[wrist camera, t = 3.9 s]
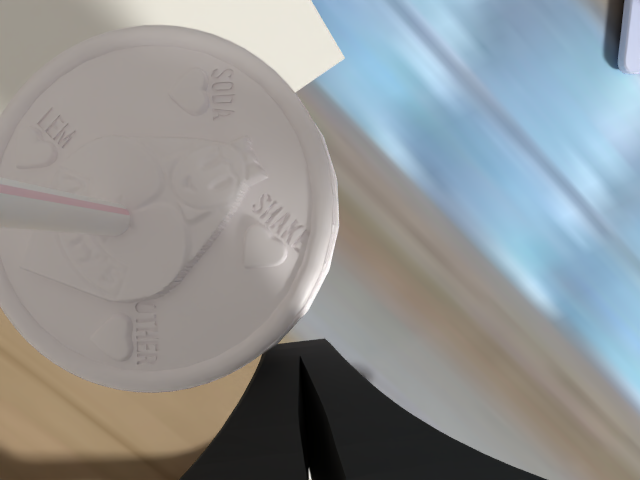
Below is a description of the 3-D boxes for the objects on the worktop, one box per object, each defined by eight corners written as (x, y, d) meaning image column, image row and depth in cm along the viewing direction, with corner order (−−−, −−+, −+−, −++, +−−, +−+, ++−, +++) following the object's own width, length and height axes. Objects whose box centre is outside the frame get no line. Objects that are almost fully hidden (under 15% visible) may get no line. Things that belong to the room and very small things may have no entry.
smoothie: (148, 191, 18) (-571, -32, 4) (300, 118, 18) (109, -405, 4) (217, 346, 18) (-303, 706, 4) (374, 274, 17) (471, 361, 3)
